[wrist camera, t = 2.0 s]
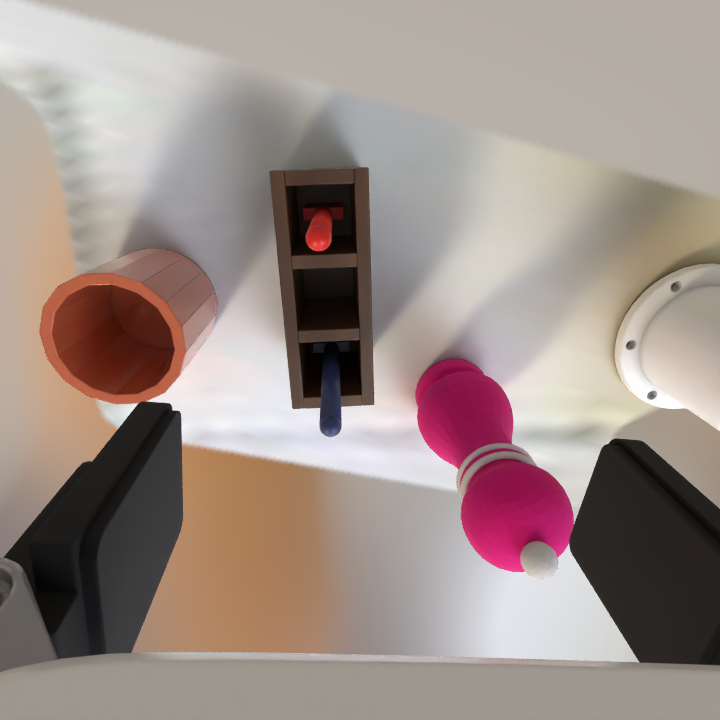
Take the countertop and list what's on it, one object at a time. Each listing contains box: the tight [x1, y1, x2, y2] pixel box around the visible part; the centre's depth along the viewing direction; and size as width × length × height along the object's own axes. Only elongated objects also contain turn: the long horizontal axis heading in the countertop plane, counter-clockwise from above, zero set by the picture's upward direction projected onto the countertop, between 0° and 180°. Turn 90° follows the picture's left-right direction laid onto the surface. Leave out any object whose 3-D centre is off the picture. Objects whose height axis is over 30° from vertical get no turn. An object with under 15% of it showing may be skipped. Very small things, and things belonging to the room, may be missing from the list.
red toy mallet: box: [303, 202, 344, 251], centre depth 27 cm, size 3×1×16 cm, turn 92°
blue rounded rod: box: [313, 341, 350, 437], centre depth 31 cm, size 3×1×16 cm, turn 91°
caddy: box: [270, 167, 374, 409], centre depth 33 cm, size 5×15×9 cm, turn 2°
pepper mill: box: [416, 359, 574, 580], centre depth 32 cm, size 7×7×20 cm
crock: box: [40, 248, 218, 404], centre depth 33 cm, size 8×8×9 cm
